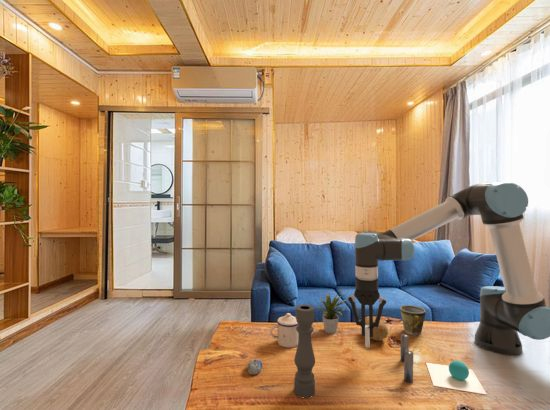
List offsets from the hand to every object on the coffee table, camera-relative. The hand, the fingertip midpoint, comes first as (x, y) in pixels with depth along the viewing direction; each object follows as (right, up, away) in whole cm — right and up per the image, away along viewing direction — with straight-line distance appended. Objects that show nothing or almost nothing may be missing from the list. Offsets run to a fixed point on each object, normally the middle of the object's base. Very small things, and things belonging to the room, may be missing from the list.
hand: (367, 345), depth 106 cm
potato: (+9, -7, +20) cm, 23 cm away
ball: (+26, -4, -9) cm, 28 cm away
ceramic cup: (+27, -7, +25) cm, 37 cm away
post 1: (+14, -6, +2) cm, 15 cm away
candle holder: (-23, -7, -16) cm, 29 cm away
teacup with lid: (-28, -6, +15) cm, 33 cm away
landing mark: (+25, -7, -8) cm, 27 cm away
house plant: (-8, -6, +26) cm, 28 cm away
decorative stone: (-39, -7, -4) cm, 40 cm away
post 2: (+10, -7, -10) cm, 15 cm away
